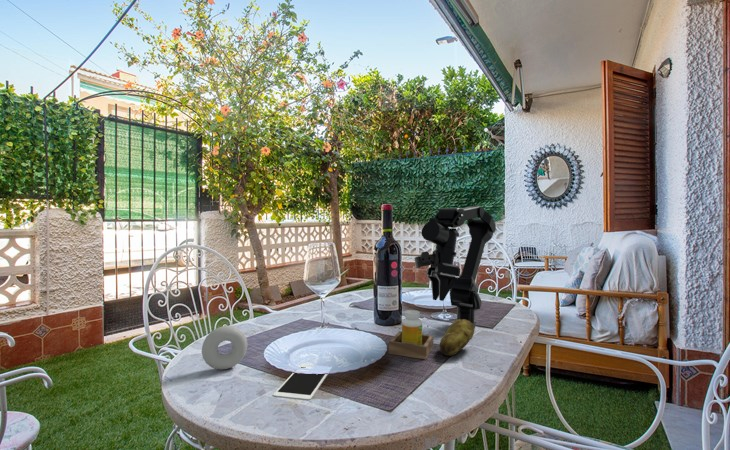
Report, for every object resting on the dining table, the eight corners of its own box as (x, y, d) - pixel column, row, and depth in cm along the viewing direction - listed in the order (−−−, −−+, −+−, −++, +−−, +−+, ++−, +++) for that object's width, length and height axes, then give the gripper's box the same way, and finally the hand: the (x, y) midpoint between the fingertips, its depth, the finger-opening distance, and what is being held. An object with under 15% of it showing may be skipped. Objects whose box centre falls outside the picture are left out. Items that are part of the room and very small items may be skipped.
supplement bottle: (421, 352, 96) (421, 314, 96) (400, 350, 97) (401, 313, 97) (422, 345, 101) (422, 309, 101) (402, 343, 102) (403, 308, 102)
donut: (202, 375, 81) (202, 330, 81) (200, 370, 84) (201, 326, 84) (248, 367, 86) (249, 325, 86) (246, 362, 89) (246, 321, 89)
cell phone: (332, 368, 87) (332, 366, 87) (310, 402, 71) (310, 399, 71) (301, 366, 89) (301, 363, 89) (272, 398, 73) (272, 394, 73)
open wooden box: (399, 342, 105) (399, 331, 105) (433, 346, 102) (433, 335, 102) (388, 353, 96) (389, 341, 96) (426, 359, 93) (426, 347, 93)
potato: (426, 350, 99) (427, 321, 99) (461, 342, 106) (461, 314, 106) (449, 361, 92) (449, 329, 92) (484, 352, 99) (485, 322, 98)
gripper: (414, 247, 120) (406, 295, 117) (424, 239, 102) (415, 295, 99) (447, 253, 120) (441, 301, 117) (464, 246, 102) (456, 303, 99)
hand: (437, 300), depth 108 cm, fingers open, 9 cm apart
